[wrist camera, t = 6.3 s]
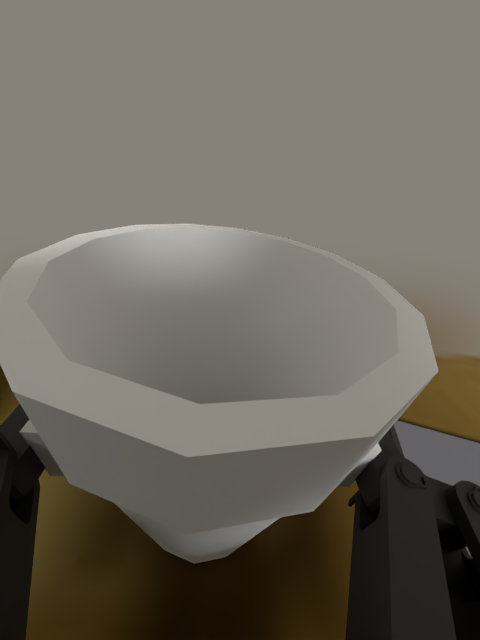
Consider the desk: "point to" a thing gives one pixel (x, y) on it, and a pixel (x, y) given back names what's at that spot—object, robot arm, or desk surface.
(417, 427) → the charcoal mat
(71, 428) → the foam cup
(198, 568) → the desk surface
